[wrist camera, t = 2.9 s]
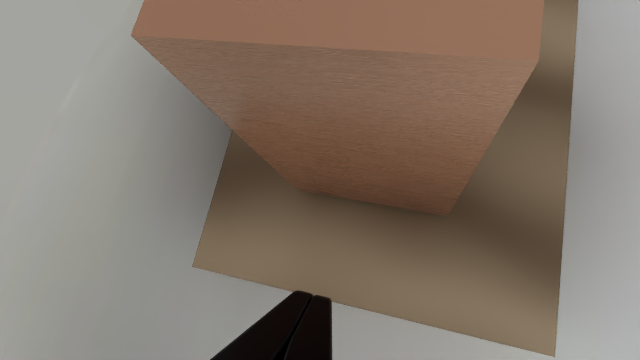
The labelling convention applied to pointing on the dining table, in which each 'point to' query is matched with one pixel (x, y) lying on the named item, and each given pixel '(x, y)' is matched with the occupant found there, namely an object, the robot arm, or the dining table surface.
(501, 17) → the shaft
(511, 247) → the bearing base
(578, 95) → the dining table surface
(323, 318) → the robot arm
